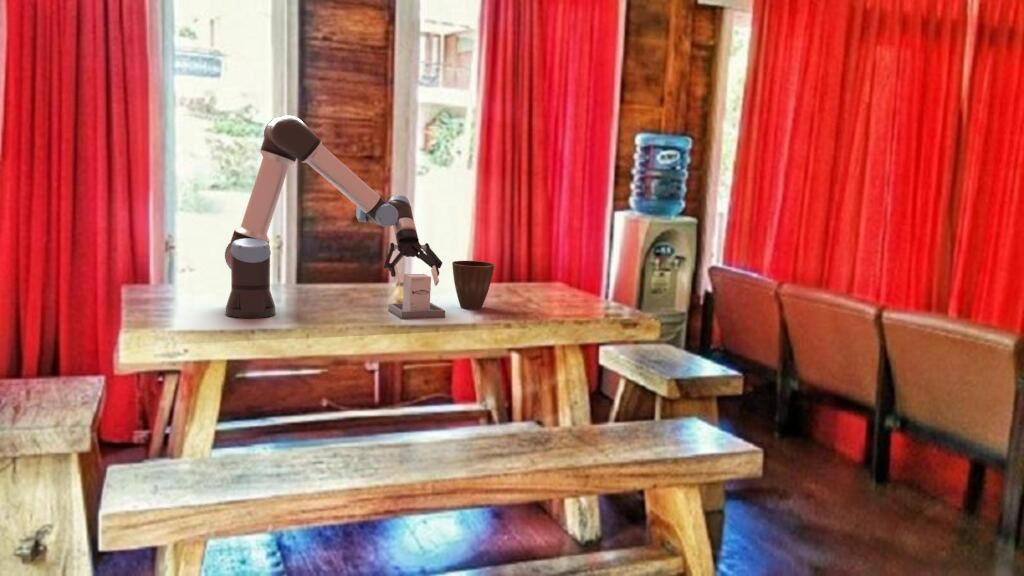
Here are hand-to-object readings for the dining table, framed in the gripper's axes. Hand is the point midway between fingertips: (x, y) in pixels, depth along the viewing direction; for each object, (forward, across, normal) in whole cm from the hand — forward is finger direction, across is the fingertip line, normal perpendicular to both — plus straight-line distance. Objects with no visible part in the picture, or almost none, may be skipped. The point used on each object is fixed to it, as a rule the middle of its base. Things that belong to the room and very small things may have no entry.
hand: (417, 283), depth 270 cm
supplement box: (+8, +1, -6) cm, 10 cm away
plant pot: (+3, -22, -12) cm, 25 cm away
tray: (+8, +1, -6) cm, 10 cm away
